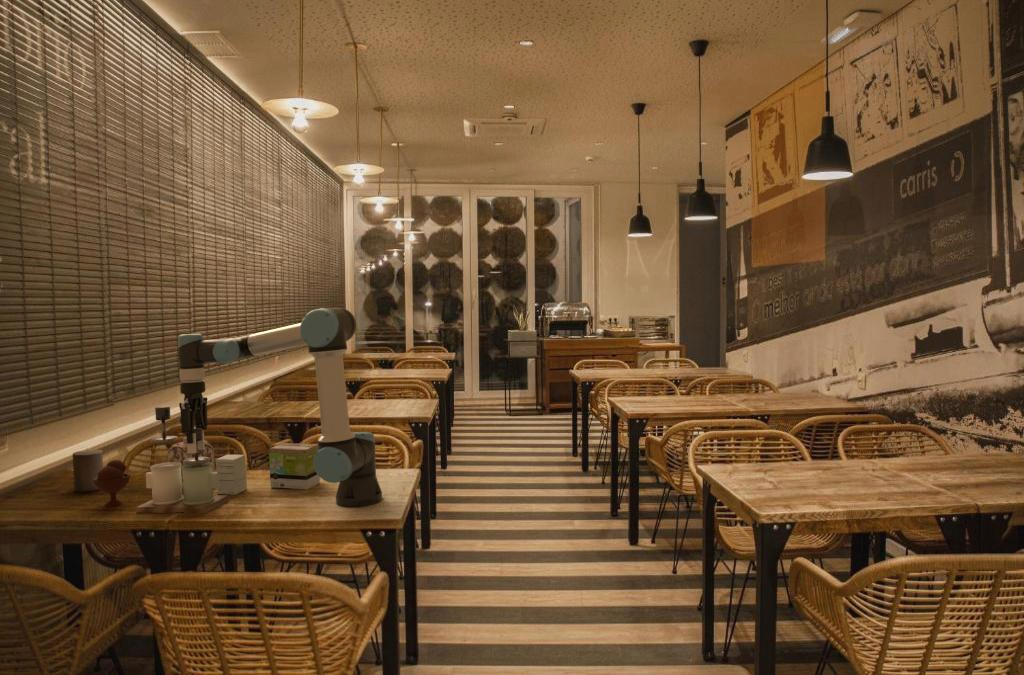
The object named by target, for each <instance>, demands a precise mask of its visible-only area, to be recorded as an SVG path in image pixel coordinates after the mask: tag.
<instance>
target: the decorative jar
mask: <svg viewBox="0 0 1024 675" xmlns="http://www.w3.org/2000/svg"><path fill="white" fill-rule="evenodd" d="M182 440H183V441H179V442H176V443H174V444H173V445H171V447H170V448H169V449H168V450H167V462H179V463H181V467H182V466H184V465H186V464H184V462H183V461H184V460H185V459H188V458H193V457H195V455H194V453H188V452H187V436H184V437H183V438H182ZM204 445H205V449H204V450H198V456H199V457H209V458H210V461H209V462H210V463H212V472H216V466H215V465H216V462H215V452H214V451H215V450H214V447H213V445H212V444H211V443H210V442H209V441H207V440H206V439H204ZM181 478H182V490H183V474H182V468H181Z"/></svg>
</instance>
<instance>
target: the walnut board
mask: <svg viewBox="0 0 1024 675" xmlns="http://www.w3.org/2000/svg"><path fill="white" fill-rule="evenodd" d="M182 496H183V497H184V494H182ZM213 496H214V498H215V500H214V501H212V502H210V503H206V504H201V505H184V504H183V500H184V499H183V500H182V501H180V502H178V503H174V504H168V505H154V504H152V500H153V499H150V500H149V501H146V502H144V503H141V504H140V505H138V506H136V513H147V514H151V513H152V514H153V513H154V514H155V513H156V514H158V513H161V514H162V513H167V514H171V513H173V514H175V513H176V512H184V513H185V514H208V513H209V512H211V511H213V510H214V509H217V508H218V507H220V506H221V505H223V504H225V503H227V502H228V501H229V494H218V495H215V494H213ZM176 514H177V513H176Z"/></svg>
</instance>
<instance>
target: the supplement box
mask: <svg viewBox="0 0 1024 675" xmlns="http://www.w3.org/2000/svg"><path fill="white" fill-rule="evenodd" d="M246 462H247V461H246V455H245V454H225V455H223V456H221V457H219V458H215V465H216V466H215V471H216V472H218V479H219V487H218V488H217V494H218V495H232V496H233V495H236V496H237V495H238V494H239V493H242V492H244V491H246V490H247V489H248V484H247V466H246Z"/></svg>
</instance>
